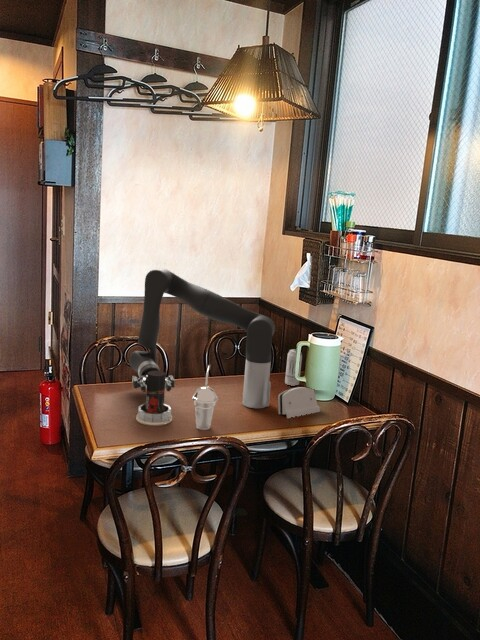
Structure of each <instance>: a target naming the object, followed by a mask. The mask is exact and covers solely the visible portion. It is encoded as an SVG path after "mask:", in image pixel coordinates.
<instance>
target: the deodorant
mask: <svg viewBox="0 0 480 640" xmlns="http://www.w3.org/2000/svg"><path fill="white" fill-rule="evenodd" d="M166 376H167V375H166V372H165V371H162V370H160V371H149V372H148V373H147V388H146V392H145V393H146V395H145V403H146V412H148V413H163V411H164V404H165V394H166V393H165V390H166V388H165V378H166Z"/></svg>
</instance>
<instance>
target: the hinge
mask: <svg viewBox="0 0 480 640" xmlns="http://www.w3.org/2000/svg"><path fill="white" fill-rule="evenodd" d="M277 403H278V406H277V407H278V415H286V419H292V418H291V417H293V418H296V417H295V416H297V417H301V415H302V416H307V415H312V414H315V413H320V412H321V409H320V408H321V407H320V406H319V405H318V401H317V398H316V393H315V390H314V389H313V388H309V387H304V386H297V387H291V388H288V389H286V390H284V391H282V392H281V393H279V394H278V396H277ZM311 413H312V414H311ZM306 414H307V415H306Z"/></svg>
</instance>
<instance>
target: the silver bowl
mask: <svg viewBox="0 0 480 640" xmlns="http://www.w3.org/2000/svg"><path fill="white" fill-rule="evenodd" d="M135 420H136V422H137V423H139V424H141V425H144V426H149V427H161V426H166V425H168V424H171V422H172V421H173V415H172V408H171V406H170V405H168V404H167V403H164V411H163V413H148V412H146V402H145V403H141V404H139V406H137V414H136V415H135Z"/></svg>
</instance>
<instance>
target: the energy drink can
mask: <svg viewBox="0 0 480 640" xmlns="http://www.w3.org/2000/svg"><path fill="white" fill-rule="evenodd" d="M296 350H297V349H295V348H294V349H292V348H291V349H289V351H288V353H287V359H286V368H285V369H286V370H285V378H284V384H285V385H286V384H287V385H291V386H295V385H298V386H299V385H300V380H299V381H298V380H296V379H295V373H294V372H295V361H296ZM302 360H303V354H302V353H301V355H300V364H299V376H300V377H301V369H302ZM287 385H286V386H287Z"/></svg>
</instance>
